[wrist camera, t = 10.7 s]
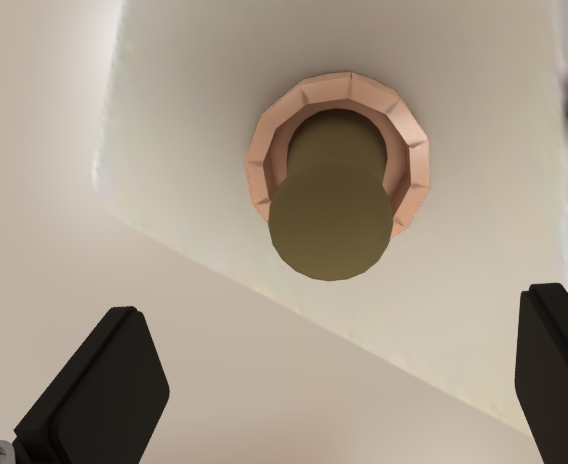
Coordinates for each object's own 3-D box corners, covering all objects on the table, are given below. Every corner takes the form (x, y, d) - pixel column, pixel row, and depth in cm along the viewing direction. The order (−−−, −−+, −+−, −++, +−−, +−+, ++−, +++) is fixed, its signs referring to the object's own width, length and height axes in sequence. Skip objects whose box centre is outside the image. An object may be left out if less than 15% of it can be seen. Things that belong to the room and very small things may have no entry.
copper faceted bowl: (245, 85, 28) (231, 95, 24) (417, 59, 26) (426, 66, 23) (272, 236, 32) (263, 260, 28) (423, 223, 30) (432, 247, 27)
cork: (403, 125, 26) (433, 191, 17) (367, 217, 29) (376, 321, 19) (302, 94, 26) (272, 142, 17) (275, 189, 29) (236, 279, 19)
